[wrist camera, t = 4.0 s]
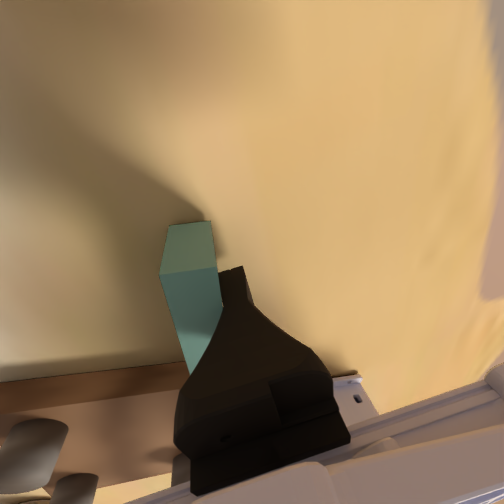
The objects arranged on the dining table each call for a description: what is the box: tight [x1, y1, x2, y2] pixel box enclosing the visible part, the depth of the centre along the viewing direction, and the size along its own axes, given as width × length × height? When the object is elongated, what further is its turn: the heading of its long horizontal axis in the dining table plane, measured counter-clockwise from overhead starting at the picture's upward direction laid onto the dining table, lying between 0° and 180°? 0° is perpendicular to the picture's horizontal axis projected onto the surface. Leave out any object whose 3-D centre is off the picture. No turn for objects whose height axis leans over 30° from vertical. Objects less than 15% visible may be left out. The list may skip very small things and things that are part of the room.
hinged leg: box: [159, 221, 223, 375], centre depth 13 cm, size 11×2×4 cm, turn 1°
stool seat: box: [0, 362, 190, 504], centre depth 18 cm, size 14×14×4 cm
